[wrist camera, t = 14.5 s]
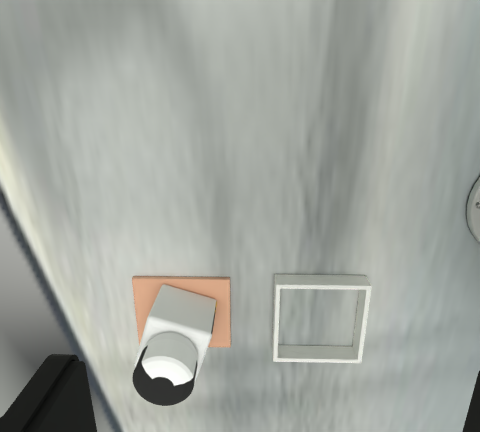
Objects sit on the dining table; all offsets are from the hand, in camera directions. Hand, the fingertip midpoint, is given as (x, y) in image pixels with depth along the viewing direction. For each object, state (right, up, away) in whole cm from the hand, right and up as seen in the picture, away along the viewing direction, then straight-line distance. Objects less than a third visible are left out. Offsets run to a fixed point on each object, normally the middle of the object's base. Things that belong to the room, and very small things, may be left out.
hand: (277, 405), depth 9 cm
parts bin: (+9, -8, +38) cm, 40 cm away
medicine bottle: (-8, -8, +38) cm, 40 cm away
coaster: (-8, -8, +38) cm, 40 cm away
